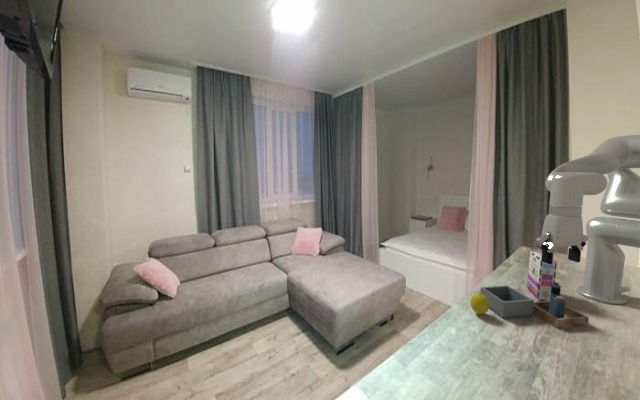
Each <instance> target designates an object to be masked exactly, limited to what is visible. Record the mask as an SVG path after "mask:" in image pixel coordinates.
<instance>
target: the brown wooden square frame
mask: <svg viewBox="0 0 640 400" xmlns="http://www.w3.org/2000/svg"><path fill="white" fill-rule="evenodd" d="M549 304H550V300H549V301H542V300H537V301H534V306H533V315H535V316H536V317H538V318H540V319H541V320H543V322H544V321H545V322H546V323H547V324H549V325H551V326H552V327H554V328H555V329H556V330H557V329H570V328H578V327H579V328H580V327H581V328H583V327H588V326H589V320H590V319H589V316H587V315H585V314H583V313H582V312H581V313H580V312H579V311H577V310H575V309H573V308H571V307H569V306H568V305H566V304H565V313H564V316H566V317H564V318H556V317H555V316H553V315H551V314H550V313H549ZM547 310H548V311H547Z"/></svg>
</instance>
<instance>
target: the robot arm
mask: <svg viewBox="0 0 640 400" xmlns="http://www.w3.org/2000/svg"><path fill="white" fill-rule="evenodd" d="M632 169H640V134H630V135H619V136H613V137H610V138H608V139H606V140H604V141H603V142H602V143H601V144H600V145H598V146H597V147H596V148H594V150H593V151H591V153H590V154H588V155H584V156H582V157H579V158H575V159H573V160H570V161H566V162H564V163H562V164H560V165H559V166H557V167H555V168H554V169H553V170H552V171H551V172H550V173H549V174H548V176H547V177H546V179H545V188H546V190H547V191H549V192H550V197H549V206H548V207H549V208H548V214H547V215H546V216H545V219H544V221H543V222H544V223H543V226H542V231H541V235H540V236H539V237H537V238H536V239H535V241H536V242H537V243H536V244H537V246H538V248H539V249H540V250H541V252H542V257H541V261H542V262H545V263H548V264H552V262H553V259H554V252H553V251H554V249H555V248H560V247H569V248H568V253H567V254H568V255H567V256H568V257H567V259H568V260H569V261H572V262H575V263H581V255H582V251H583V250H584V247H585V246H586V245H587V246H586V247H587V248H586V258H585V265H584V277H583V285H580V286H578V287H577V292H578V294H580V295H582V296H583V297H586V298H588V299H591V300H592V301H593V300H594V301H597V302H600V303H604V304H605V303H606V304H610V305H624V304H626V303H627V298H626V297H625V296H624V295H623V293H628V292H631V289H630V287H629V286H622V285H623V278H624V277H623V276H624V270H625V269H624V268H625V261H626V256H625V253H624V251H623V250H622V248H621V247H620V246H625V247H632V248H636V249H640V175H639V174H638V173H636V172H634V170H632ZM605 175H607V177H608V179H607V178H606V176H605ZM604 191H605V192H604ZM603 192H604V195H603V197H602V199H601V202H600V207H599V209H600V211H601V213H602V214H604V215H606V216H596V217H593V218H590V219H588V220H587V222H586V223H585V224H586V225H585V232H586V234H584V224H583V222H584V221H583V217H582V213H583V203H584V202H583V201H584V196H596V195H599V194H602V193H603ZM609 216H610V217H609ZM611 216H612V217H611ZM626 218H627V219H626ZM628 218H629V219H628ZM634 219H635V220H634ZM636 219H637V220H636ZM619 245H620V246H619ZM548 246H549V247H548Z"/></svg>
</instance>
